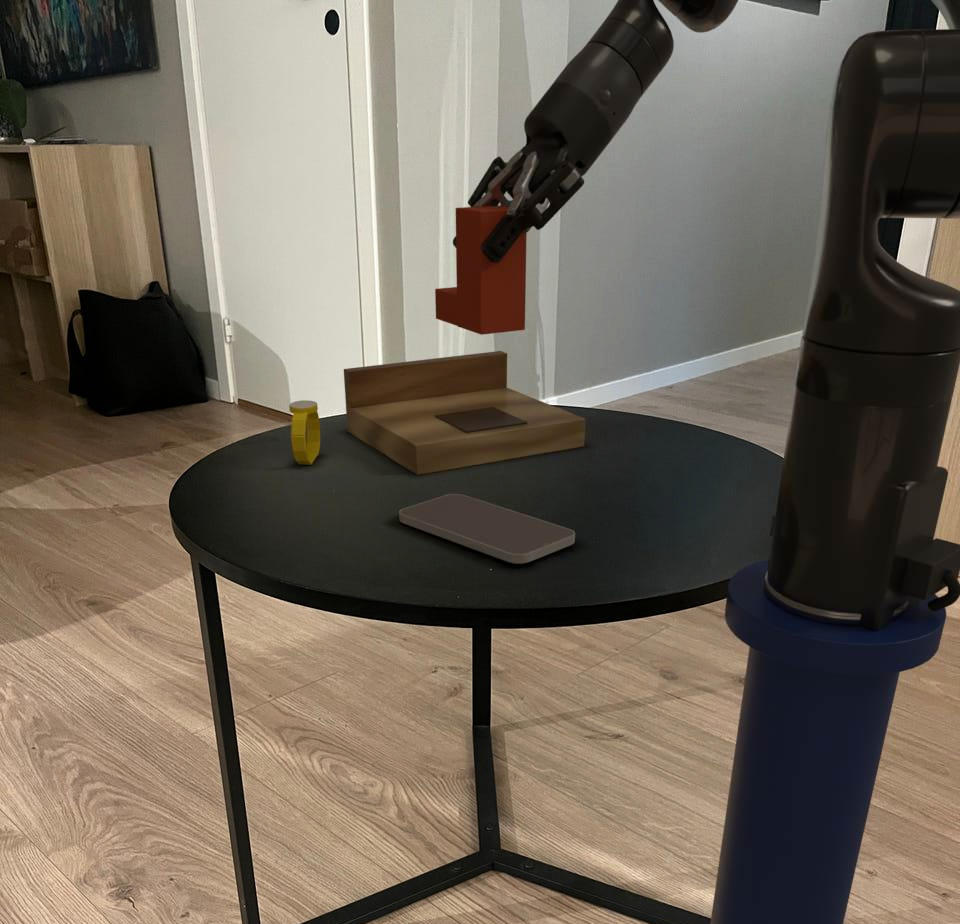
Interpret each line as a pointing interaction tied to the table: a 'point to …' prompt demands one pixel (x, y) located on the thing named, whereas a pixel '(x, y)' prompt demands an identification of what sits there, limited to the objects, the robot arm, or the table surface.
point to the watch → (304, 417)
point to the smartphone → (488, 528)
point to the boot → (484, 278)
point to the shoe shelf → (452, 413)
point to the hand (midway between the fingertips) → (473, 252)
